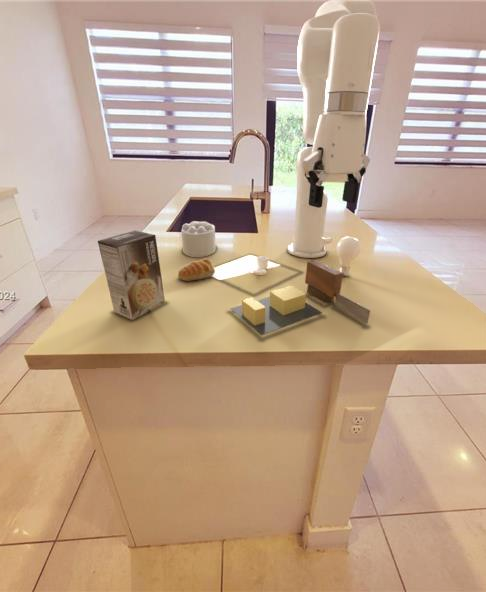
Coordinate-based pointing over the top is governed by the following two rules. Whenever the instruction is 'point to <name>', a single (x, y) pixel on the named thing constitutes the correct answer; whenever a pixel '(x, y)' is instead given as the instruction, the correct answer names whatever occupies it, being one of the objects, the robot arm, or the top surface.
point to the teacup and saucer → (261, 263)
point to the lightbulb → (347, 253)
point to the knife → (333, 288)
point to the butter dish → (277, 317)
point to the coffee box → (132, 272)
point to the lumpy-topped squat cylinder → (198, 239)
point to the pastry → (197, 270)
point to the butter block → (287, 300)
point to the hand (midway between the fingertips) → (332, 204)
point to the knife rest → (318, 294)
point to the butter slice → (253, 311)
